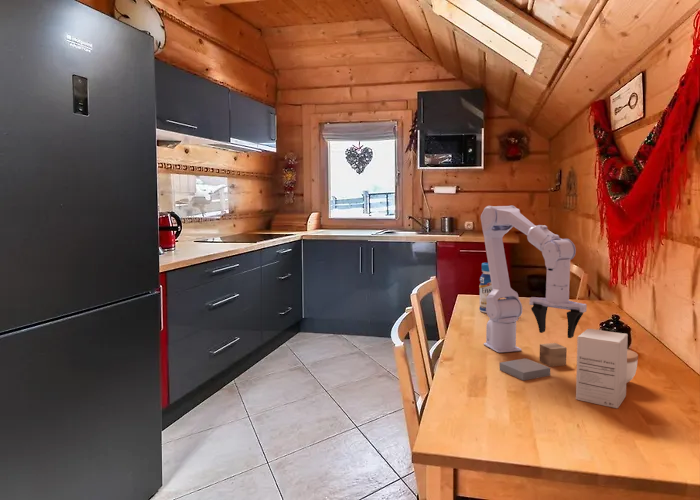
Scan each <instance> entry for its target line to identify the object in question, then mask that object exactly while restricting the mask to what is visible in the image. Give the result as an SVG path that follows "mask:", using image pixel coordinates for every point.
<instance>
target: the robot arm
mask: <svg viewBox="0 0 700 500" xmlns="http://www.w3.org/2000/svg"><path fill="white" fill-rule="evenodd" d="M482 210H483V211H482V213H481V215H480V221H481V228H482V233H483V239H484V245H485V253H486V258H487V263H488V265H489V271H490V277H491V283H492V291H491V292H490V293H489V295H488V296H487V297H486V301H487V305H486V313H485V314H486V315H487V317H488V318H489V320H488V321H487V323H486V325H485V326H486V327H485V328H486V329H485V330H486V331H485V332H486V334H485V335H486V337H485V339H486V340H485V341H486V342H484V343H483V345H484V346H485V347H488V348H489V349H491V350H493V351H495V352H497V353H510V352H521V351H523V350H522V348H520V347H519V346H517V321H519V318H520V317H521V316H522V314H523V304H522V303H521V300H520V297H519V294H518V292H517V291H515V290H514V289H513V288H512V287H511V282H510V277H509V271H508V264H507V259H506V253H505V248H504V247H505V246H504V241H503V237H504V236H505V234H507V233H509V231H510V230H512V228H515V229H516V230H518V231H520V232H521V233H522V234H524V235H526V238H527V241H528V242H529V243H530V244H531V245H533V246H534V247H535V248H536V249H537V250H539V251H540V252H541V254H542V257H543V260H544V265H545V268H546V281H545V297H536V296H531V297H529V302H528V303H529V306H532V307H530V309H531V312H532V313H533V315H534V317H535V320H536V323H537V327H538V331H539V333H541V334H543V333H545V332H546V324H547V322H546V319H547V312H548V308H553V309H558V310H559V309H560V310H561V309H562V310H567V312H566V318H567V339H572V338H574V335H575V331H576V328H577V325H578V323H579V322H580V320H581V318H582V316H583V315H584V313H586V312H587V306H588V305H587V303H582V302H577V301H572V300H570V281H571V280H570V279H571V278H570V277H571V276H570V275H571V260H573V259H574V257H576V252H577V250H576V249H577V248H576V245H575V244H574V242H573V241H572V240H571V239H569V238H561V237H560V235H559V234H555V233H553V232H552V231H550V230H549V229H548V226H547V225H545V224H544V225H543V224H538V225H535V224H534V223H533V222H532V221H530V220H529V219H528V218H527V217H526V216H524V214H522V213H521V210H520V208H517V207H516V206H515V205H497V206H493V205H487V206H485V207H484V208H483V209H482ZM499 298H500V299H499ZM498 299H499V300H498Z"/></svg>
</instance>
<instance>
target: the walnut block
mask: <svg viewBox="0 0 700 500" xmlns="http://www.w3.org/2000/svg"><path fill="white" fill-rule="evenodd" d="M567 350H568V349H567V347H566V346H563V345H561V344H559V343H557V342H550V343H540V344H539V359H538V360H539V361H538V362H540V363H541V364H543V365H545V366H547V367H550V368H552V367H559V366H562V367H563V366H566V365H567Z"/></svg>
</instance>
